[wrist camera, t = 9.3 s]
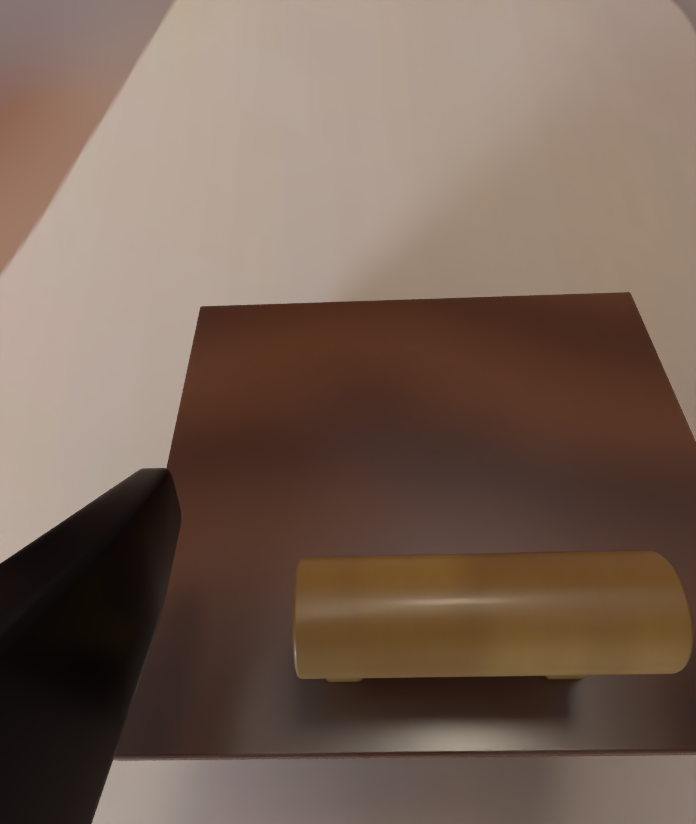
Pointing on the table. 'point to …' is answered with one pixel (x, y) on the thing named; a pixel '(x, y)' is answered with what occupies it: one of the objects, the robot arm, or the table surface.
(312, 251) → the table surface
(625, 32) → the table surface
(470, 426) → the brown wooden lid
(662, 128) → the table surface
